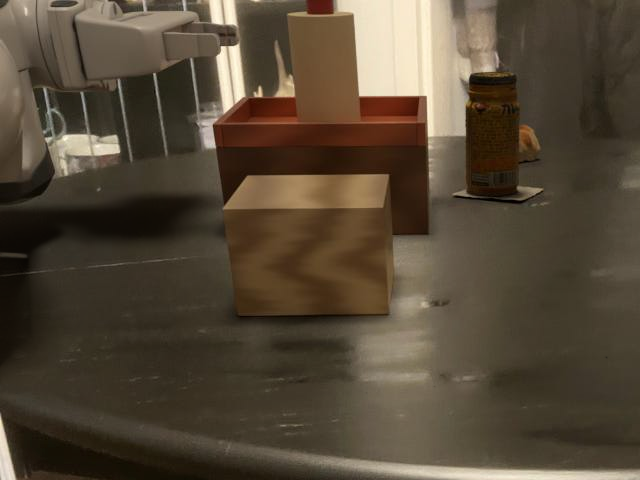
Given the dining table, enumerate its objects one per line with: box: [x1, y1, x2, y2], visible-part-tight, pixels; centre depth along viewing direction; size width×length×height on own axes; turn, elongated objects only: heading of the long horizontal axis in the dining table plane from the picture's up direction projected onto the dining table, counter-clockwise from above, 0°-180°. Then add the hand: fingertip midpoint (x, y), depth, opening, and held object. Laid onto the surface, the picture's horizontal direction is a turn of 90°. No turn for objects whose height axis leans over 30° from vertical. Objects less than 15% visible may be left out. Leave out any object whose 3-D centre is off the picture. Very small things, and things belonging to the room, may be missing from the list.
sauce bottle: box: [286, 0, 361, 122], centre depth 96 cm, size 6×6×13 cm
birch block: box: [221, 174, 395, 317], centre depth 80 cm, size 12×12×8 cm
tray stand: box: [212, 95, 431, 235], centre depth 102 cm, size 20×18×10 cm
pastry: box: [519, 124, 541, 163], centre depth 127 cm, size 9×7×4 cm
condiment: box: [452, 71, 544, 201], centre depth 109 cm, size 7×8×12 cm
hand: (228, 39), depth 95 cm, fingers open, 8 cm apart
